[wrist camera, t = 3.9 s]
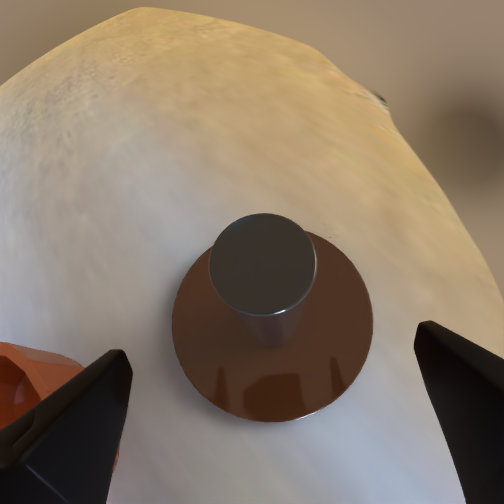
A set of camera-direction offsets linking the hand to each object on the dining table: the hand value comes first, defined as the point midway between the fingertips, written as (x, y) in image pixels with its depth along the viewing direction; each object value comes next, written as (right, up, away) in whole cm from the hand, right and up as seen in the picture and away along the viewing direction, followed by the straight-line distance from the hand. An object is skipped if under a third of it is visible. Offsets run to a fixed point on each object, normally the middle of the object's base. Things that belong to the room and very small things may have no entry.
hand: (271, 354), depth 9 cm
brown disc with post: (+1, -1, +9) cm, 9 cm away
